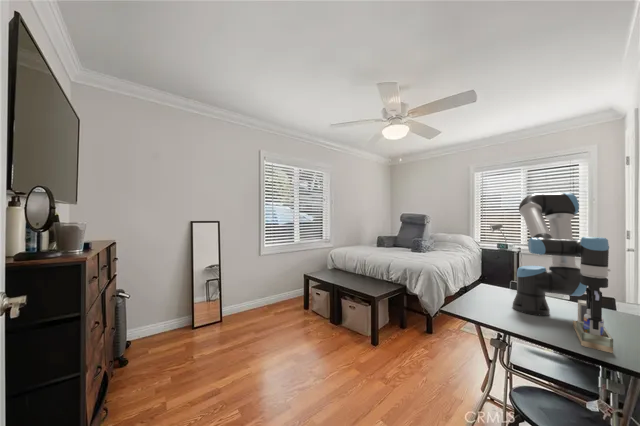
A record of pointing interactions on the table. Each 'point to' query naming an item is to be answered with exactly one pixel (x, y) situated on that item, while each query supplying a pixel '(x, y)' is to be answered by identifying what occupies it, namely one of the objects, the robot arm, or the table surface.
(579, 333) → the tray
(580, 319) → the white upright block
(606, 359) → the table surface
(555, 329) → the table surface
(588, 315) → the pill bottle
